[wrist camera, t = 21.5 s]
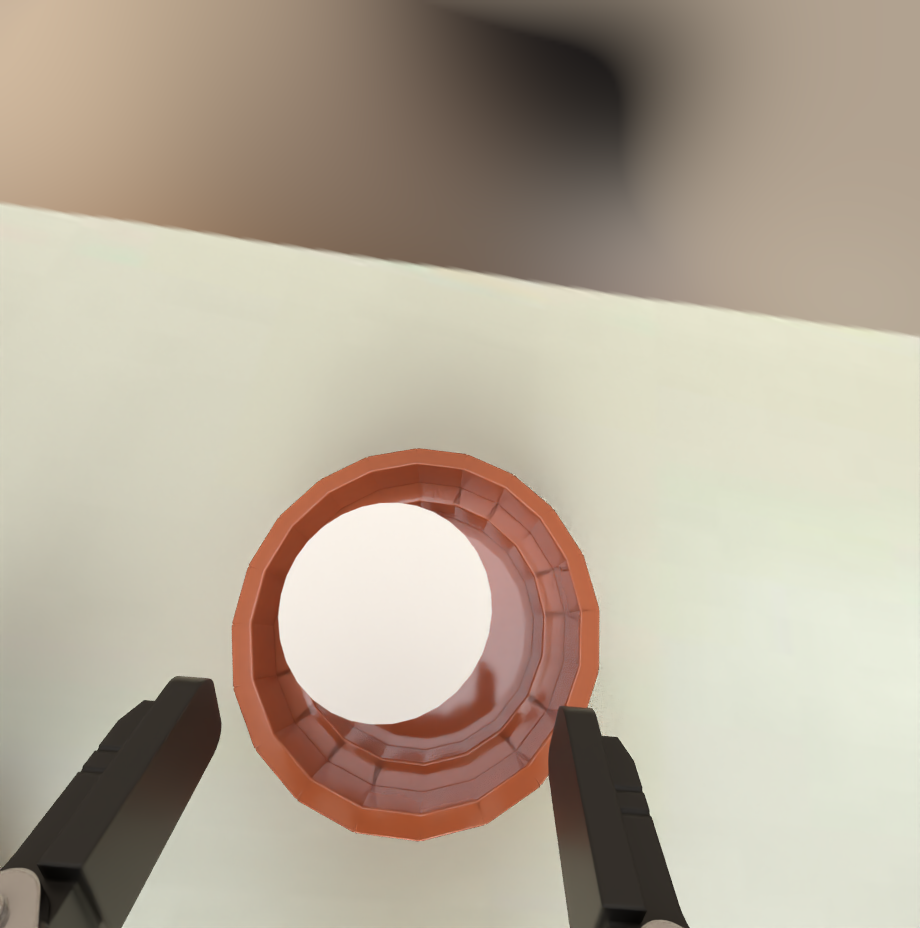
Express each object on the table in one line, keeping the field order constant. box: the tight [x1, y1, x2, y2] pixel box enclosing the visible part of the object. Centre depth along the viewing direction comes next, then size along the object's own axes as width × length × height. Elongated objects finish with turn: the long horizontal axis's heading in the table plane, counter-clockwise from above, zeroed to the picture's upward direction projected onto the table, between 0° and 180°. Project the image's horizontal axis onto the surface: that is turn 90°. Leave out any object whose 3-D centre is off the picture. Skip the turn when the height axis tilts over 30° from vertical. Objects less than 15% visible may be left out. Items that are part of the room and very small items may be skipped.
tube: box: [278, 503, 492, 724], centre depth 16 cm, size 4×4×15 cm
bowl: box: [232, 448, 599, 841], centre depth 21 cm, size 15×15×6 cm
